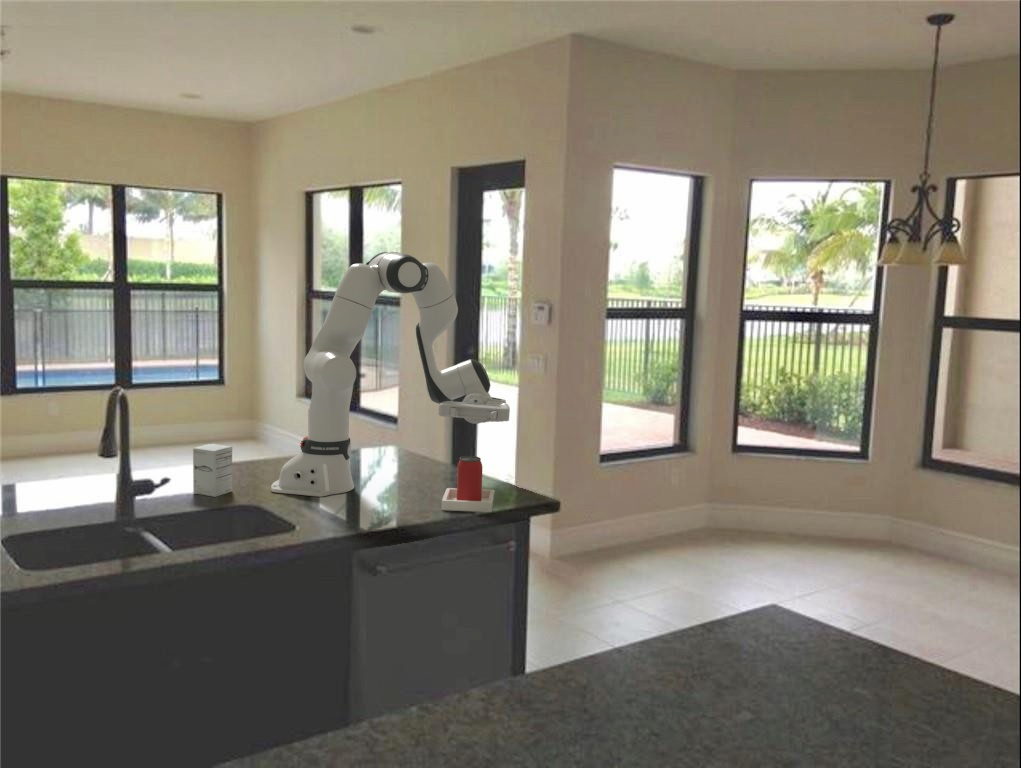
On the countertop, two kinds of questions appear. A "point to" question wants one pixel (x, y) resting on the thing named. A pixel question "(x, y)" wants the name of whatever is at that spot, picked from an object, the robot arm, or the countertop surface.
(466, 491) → the beer can
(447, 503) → the tray
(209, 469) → the supplement box
